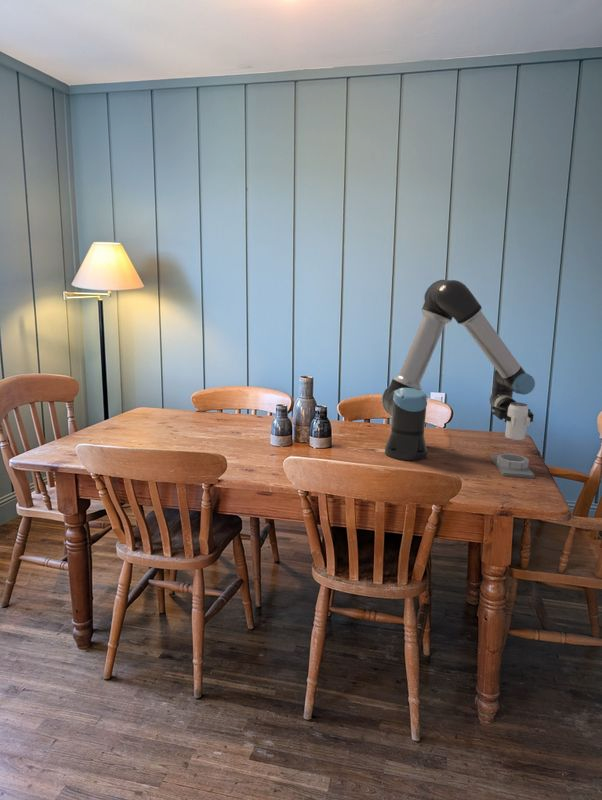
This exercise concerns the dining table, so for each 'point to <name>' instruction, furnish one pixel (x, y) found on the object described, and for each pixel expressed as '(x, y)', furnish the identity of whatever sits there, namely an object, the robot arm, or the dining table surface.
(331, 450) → the dining table surface
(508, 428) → the can
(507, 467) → the socket plate
